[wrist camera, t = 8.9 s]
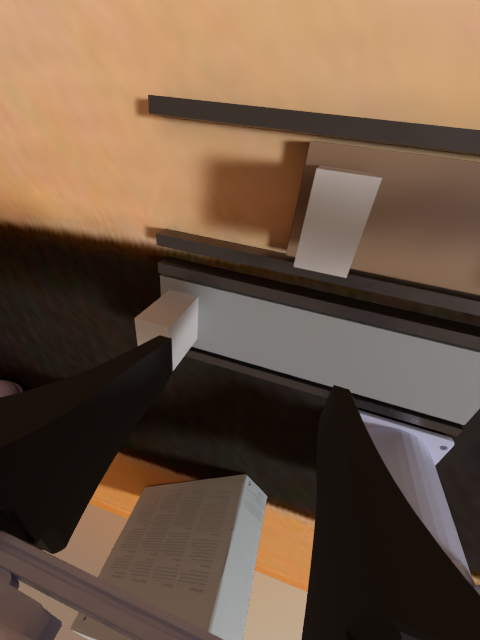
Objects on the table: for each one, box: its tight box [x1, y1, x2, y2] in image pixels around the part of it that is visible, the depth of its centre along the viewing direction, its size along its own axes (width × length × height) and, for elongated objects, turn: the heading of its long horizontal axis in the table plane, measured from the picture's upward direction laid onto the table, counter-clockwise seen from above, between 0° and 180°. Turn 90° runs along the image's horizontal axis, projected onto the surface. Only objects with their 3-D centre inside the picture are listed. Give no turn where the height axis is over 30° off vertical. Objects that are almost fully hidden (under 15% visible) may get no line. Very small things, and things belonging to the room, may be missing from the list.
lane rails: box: [148, 95, 480, 436], centre depth 18 cm, size 18×24×1 cm
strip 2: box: [135, 274, 480, 425], centre depth 18 cm, size 6×24×6 cm, turn 83°
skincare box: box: [70, 474, 267, 640], centre depth 32 cm, size 21×5×16 cm, turn 126°
